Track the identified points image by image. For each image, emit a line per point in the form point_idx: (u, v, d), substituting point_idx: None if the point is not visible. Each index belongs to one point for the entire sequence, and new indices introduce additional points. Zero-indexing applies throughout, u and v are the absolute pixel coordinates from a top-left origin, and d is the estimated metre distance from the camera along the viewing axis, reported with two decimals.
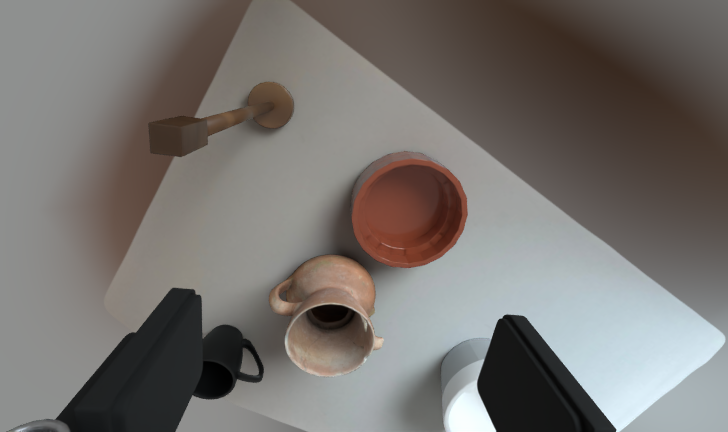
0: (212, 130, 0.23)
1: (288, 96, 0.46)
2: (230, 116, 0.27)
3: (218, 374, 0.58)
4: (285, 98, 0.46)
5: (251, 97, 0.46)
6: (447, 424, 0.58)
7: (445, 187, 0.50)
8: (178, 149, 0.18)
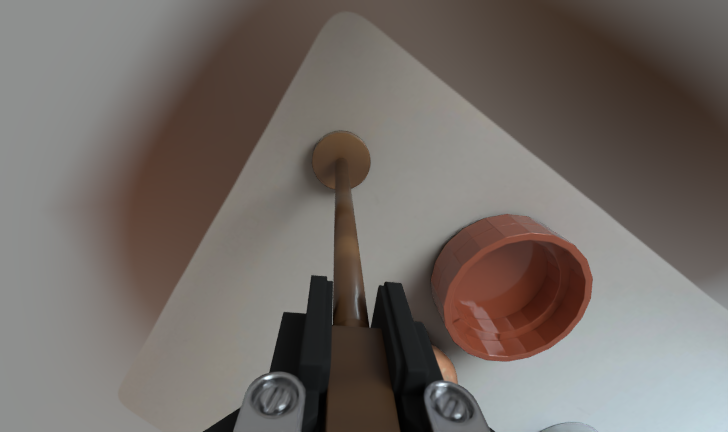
0: (366, 320, 0.12)
1: (365, 150, 0.35)
2: (357, 247, 0.16)
3: None
4: (361, 152, 0.35)
5: (317, 152, 0.34)
6: None
7: (559, 261, 0.39)
8: None
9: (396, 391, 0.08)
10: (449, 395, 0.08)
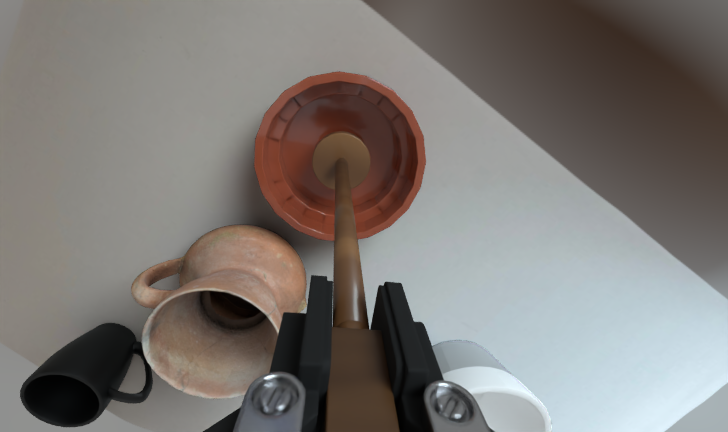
0: (366, 322, 0.12)
1: (365, 151, 0.35)
2: (357, 247, 0.16)
3: (94, 390, 0.42)
4: (362, 153, 0.35)
5: (317, 153, 0.34)
6: None
7: (395, 124, 0.35)
8: None
9: (396, 391, 0.08)
10: (449, 395, 0.08)
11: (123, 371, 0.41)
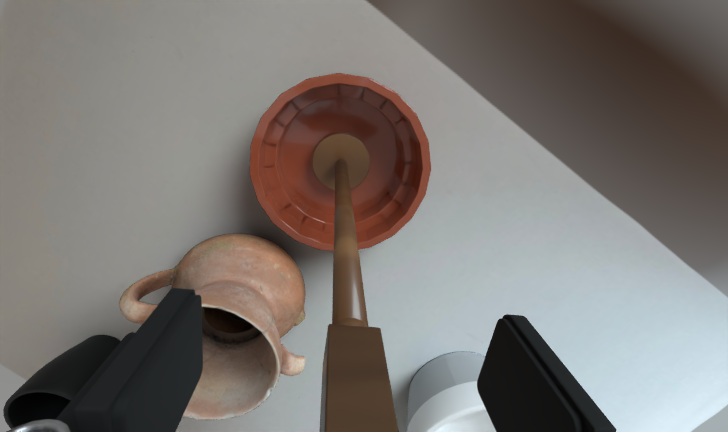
0: (365, 319, 0.12)
1: (365, 151, 0.35)
2: (356, 247, 0.16)
3: None
4: (361, 153, 0.35)
5: (317, 153, 0.35)
6: None
7: (398, 129, 0.33)
8: None
9: None
10: None
11: None
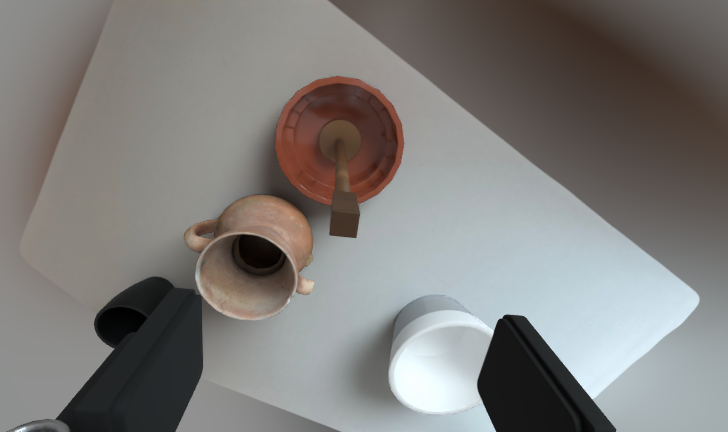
0: None
1: (357, 133, 0.48)
2: (348, 175, 0.29)
3: None
4: (355, 134, 0.48)
5: (322, 134, 0.47)
6: (392, 382, 0.54)
7: (381, 116, 0.46)
8: (354, 231, 0.20)
9: None
10: None
11: None
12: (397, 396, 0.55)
